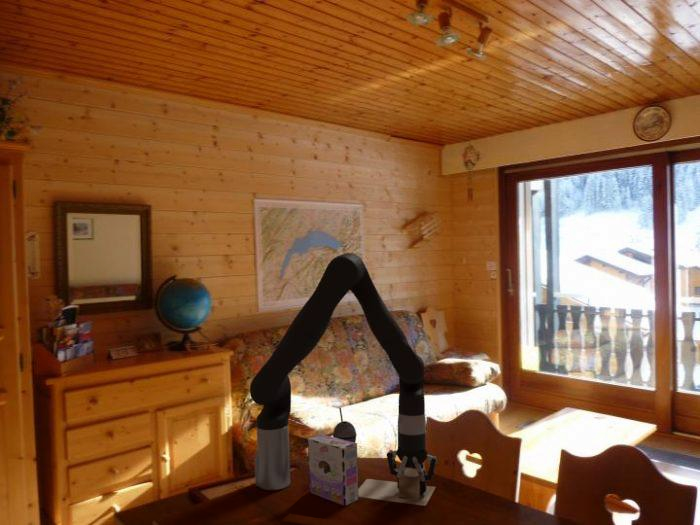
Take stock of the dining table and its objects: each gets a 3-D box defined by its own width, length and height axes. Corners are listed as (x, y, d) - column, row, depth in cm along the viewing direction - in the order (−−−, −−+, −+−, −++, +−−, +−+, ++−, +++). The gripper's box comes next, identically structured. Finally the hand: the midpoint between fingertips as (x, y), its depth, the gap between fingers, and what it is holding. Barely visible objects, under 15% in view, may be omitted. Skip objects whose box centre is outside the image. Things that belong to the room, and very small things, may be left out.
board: (352, 501, 147) (352, 495, 147) (367, 483, 158) (367, 478, 158) (425, 511, 140) (425, 505, 140) (435, 492, 151) (435, 486, 151)
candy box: (360, 504, 145) (358, 442, 145) (344, 512, 141) (342, 448, 141) (323, 490, 155) (322, 432, 155) (308, 497, 151) (306, 437, 150)
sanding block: (398, 498, 145) (398, 479, 145) (406, 486, 152) (406, 468, 152) (417, 500, 143) (417, 481, 143) (424, 488, 150) (424, 470, 150)
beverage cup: (357, 477, 163) (355, 410, 163) (333, 477, 164) (331, 411, 164) (357, 467, 171) (355, 403, 171) (334, 468, 171) (332, 404, 171)
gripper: (382, 430, 146) (382, 493, 146) (435, 436, 141) (435, 502, 141) (390, 422, 153) (390, 483, 153) (441, 428, 148) (441, 490, 148)
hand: (412, 491), depth 147 cm, fingers closed on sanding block, 5 cm apart
